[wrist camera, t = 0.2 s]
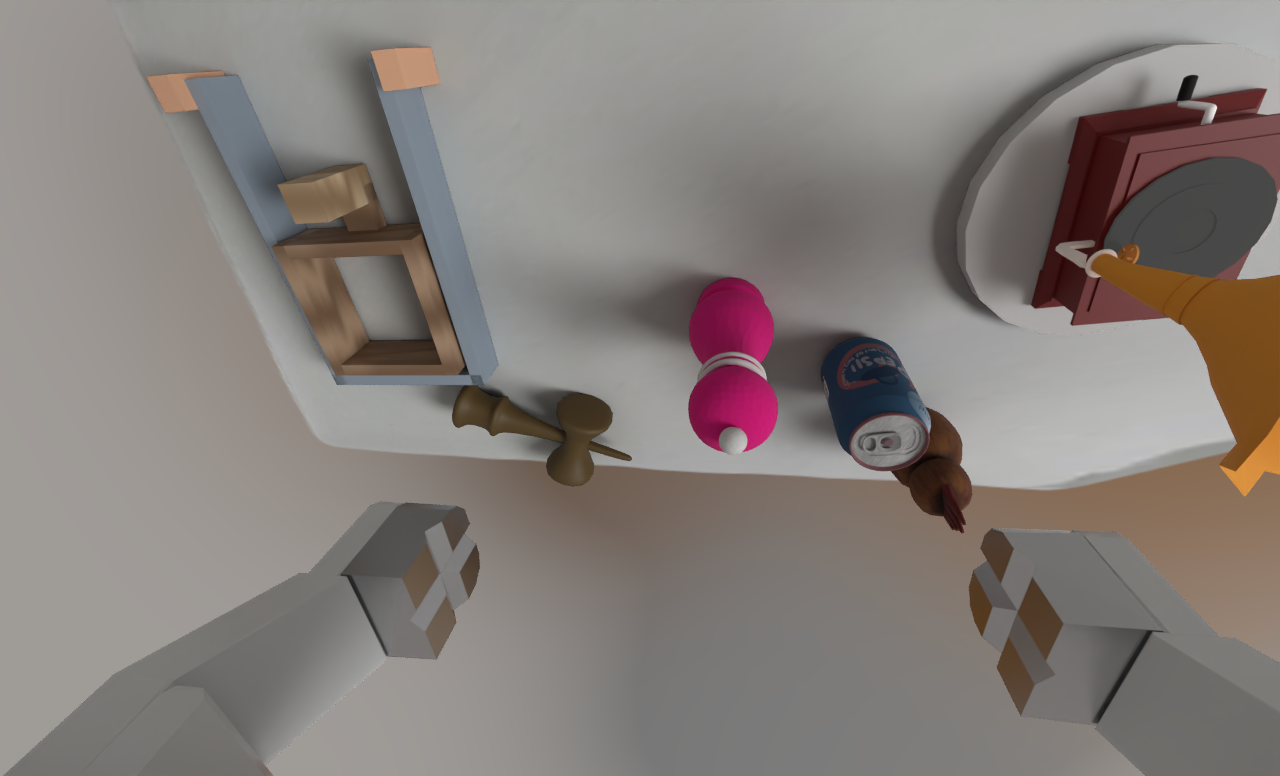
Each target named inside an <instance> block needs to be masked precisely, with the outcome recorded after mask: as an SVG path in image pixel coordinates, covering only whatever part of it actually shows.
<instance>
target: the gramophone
mask: <svg viewBox="0 0 1280 776" xmlns="http://www.w3.org/2000/svg"><path fill="white" fill-rule="evenodd" d="M1279 215H1280V61H1278V60H1275V59H1272V58H1270V57H1267V56H1265V55H1262V54H1260V53H1257V52H1255V51H1252V50H1249V49H1247V48H1244V47H1242V46H1239V45H1237V44H1219V43H1208V44H1167V45H1153V46H1150V47H1147V48H1144V49H1141V50H1137V51H1134V52H1131V53H1128V54H1125V55H1122V56H1119V57H1116V58H1113V59H1110V60H1107V61H1103V62H1100V63H1097V64H1095V65H1093V66H1092V67H1090V68H1088V69H1087V70H1085V71H1084V72H1082V73H1080V74H1079V75H1077V76H1075V77H1074V78H1072V79H1070V80H1069V81H1067V82H1065V83H1064V84H1062V85H1061V86H1059V87H1057V88H1056V89H1054V90H1052V91H1051V92H1049V93H1047V94H1046V95H1044V96H1042V97H1041V98H1040V99H1039V100H1038V101H1037V102H1036V103H1035V104H1034V105H1033V106H1032V107H1031V108H1030V109H1029V110H1028V111H1027V112H1026V113H1025V114H1023V115H1022V116H1021V117H1020V118H1019V119H1018V120H1017V121H1016V122H1015V123H1014V124H1013V125H1012V126H1011V127H1010V128H1009V129H1008V130H1007V131H1006V132H1005V133H1004V134H1003V135H1001V136H1000V137H999V139H998V140H997V142H996V143H995V145H994V146H993V148H992V149H991V151H990V152H989V154H988V155H987V157H986V158H985V160H984V161H983V163H982V165H981V166H980V168H979V169H978V171H977V172H976V174H975V175H974V177H973V178H972V180H971V181H970V184H969V187H968V190H967V193H966V196H965V199H964V202H963V205H962V208H961V212H960V215H959V218H958V221H957V261H958V264H959V266H960V268H961V270H962V272H963V275H964V277H965V279H966V281H967V283H968V286H969V288H970V290H971V291H972V292H973V293H974V294H975V296H976V297H977V298H978V299H979V300H980V301H982V302H983V303H984V304H985V305H986V306H987V307H989V308H990V309H991V310H992V311H993V312H994V313H996V314H997V315H998V316H999V317H1000V318H1001V319H1002V320H1004V321H1005V322H1008V323H1010V324H1013V325H1016V326H1019V327H1022V328H1025V329H1028V330H1031V331H1033V332H1036V333H1039V334H1062V335H1085V334H1090V333H1095V332H1100V331H1106V330H1111V329H1116V328H1121V327H1126V326H1129V325H1132V324H1134V323H1137V322H1139V321H1142V320H1147V319H1159V318H1171V319H1172V320H1174V321H1175V322H1177V323H1178V324H1179V325H1183V326H1184V327H1185V328H1186V329H1187V330H1188V332H1189V333H1190V334H1191V335H1192V337H1193V338H1194V339H1195V340H1196V342H1197V344H1198V347H1199V349H1200V351H1201V353H1202V356H1203V358H1204V360H1205V362H1206V364H1207V368H1208V373H1209V377H1210V382H1211V385H1212V388H1213V390H1214V392H1215V394H1216V397H1217V399H1218V401H1219V403H1220V406H1221V408H1222V410H1223V413H1224V415H1225V417H1226V419H1227V422H1228V424H1229V426H1230V428H1231V431H1232V433H1233V435H1234V437H1235V440H1236V442H1237V444H1236V445H1235V446H1234V447H1233V449H1232V450H1231V451H1230V452H1229V453H1228V454H1227V456H1226V457H1225V458H1224V459H1223V460H1222V462H1221V463H1220V464H1219V466H1220V467H1221V469H1222V470H1223V471H1224V472H1225V473H1226V475H1227V476H1228V477H1229V478H1230V479H1231V481H1232V482H1233V483H1234V484H1235V485H1236V487H1237V488H1238V489H1239V490H1240V491H1241V493H1242V494H1243V495H1244V496H1246V494H1247V493H1248V492H1249V491H1250V489H1251V488H1252V487H1253V485H1254V484H1255V483H1256V481H1257V480H1258V479H1259V478H1260V476H1261V475H1262V474H1263V473H1264V471H1268V472H1272V473H1276V474H1280V275H1276V276H1270V277H1264V278H1258V279H1241V280H1237V277H1238V275H1239V273H1240V271H1241V269H1242V267H1243V265H1244V263H1245V261H1246V259H1247V257H1248V255H1249V253H1250V250H1252V249H1253V248H1254V247H1255V246H1256V245H1257V244H1258V243H1259V242H1260V241H1261V240H1262V239H1263V238H1264V237H1265V236H1266V235H1267V233H1268V232H1269V230H1270V229H1271V227H1272V226H1273V224H1274V223H1275V221H1276V220H1277V218H1278V217H1279Z"/></svg>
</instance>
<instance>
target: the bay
mask: <svg viewBox="0 0 1280 776" xmlns="http://www.w3.org/2000/svg"><path fill="white" fill-rule="evenodd" d="M371 53H372V56H373V59H367V60H368V63H369V66H370V69H371V72H372V75H373V78H374V81H375V84H376V87H377V90H378V94H379V97H380V100H381V103H382V106H383V109H384V112H385V115H386V118H387V121H388V124H389V127H390V131H391V134H392V137H393V140H394V143H395V146H396V149H397V152H398V155H399V158H400V161H401V164H402V168H403V171H404V174H405V177H406V180H407V183H408V186H409V189H410V192H411V195H412V198H413V201H414V205H415V208H416V211H417V214H418V217H419V220H420V223H421V226H422V229H423V232H424V235H425V238H426V242H427V245H428V248H429V251H430V254H431V257H432V260H433V263H434V266H435V269H436V272H437V275H438V279H439V282H440V285H441V288H442V291H443V294H444V297H445V300H446V303H447V306H448V309H449V312H450V316H451V319H452V322H453V325H454V328H455V331H456V334H457V337H458V340H459V343H460V346H461V349H462V353H463V356H464V359H465V362H466V365H465V367H464V368H463V369H462V370H461V372H460V373H459V374H458V375H335V373H334V371H333V369H332V367H331V365H330V363H329V361H328V359H327V357H326V355H325V353H324V351H323V349H322V347H321V345H320V343H319V341H318V339H317V337H316V335H315V333H314V331H313V329H312V327H311V325H310V323H309V321H308V319H307V317H306V315H305V313H304V311H303V309H302V307H301V305H300V303H299V301H298V299H297V297H296V295H295V293H294V291H293V289H292V287H291V285H290V283H289V281H288V279H287V277H286V275H285V273H284V271H283V269H282V267H281V265H280V263H279V261H278V259H277V257H276V255H275V253H274V251H273V249H272V247H271V246H274V245H276V244H278V243H280V242H282V241H285V240H287V239H289V238H291V237H293V236H295V235H298V234H300V233H302V232H304V231H306V230H307V227H306V225H305V224H295V222H294V220H293V218H292V215H291V213H290V211H289V209H288V207H287V205H286V202H285V200H284V198H283V196H282V194H281V192H280V189H279V187H278V184H281V183H284V182H286V181H285V178H284V176H283V174H282V172H281V170H280V167H279V165H278V163H277V161H276V158H275V156H274V154H273V152H272V150H271V147H270V145H269V143H268V141H267V138H266V136H265V134H264V132H263V130H262V127H261V125H260V123H259V121H258V118H257V116H256V114H255V112H254V110H253V107H252V105H251V103H250V101H249V98H248V96H247V94H246V92H245V90H244V87H243V85H242V83H241V81H240V78H239V76H238V75H234V76H225V74H224V72H223V71H214V72H198V73H183V74H167V75H158V76H149V77H147V79H148V81H149V83H150V85H151V87H152V89H153V91H154V92H155V94H156V96H157V98H158V100H159V102H160V104H161V105H162V107H163V109H164V111H165V113H172V112H182V111H190V110H198V109H199V111H200V113H201V115H202V117H203V119H204V121H205V123H206V125H207V127H208V129H209V131H210V133H211V135H212V137H213V139H214V141H215V143H216V145H217V147H218V149H219V151H220V153H221V155H222V157H223V159H224V161H225V163H226V165H227V167H228V169H229V171H230V173H231V175H232V177H233V179H234V181H235V183H236V185H237V187H238V189H239V191H240V193H241V195H242V197H243V199H244V201H245V203H246V205H247V207H248V209H249V211H250V213H251V215H252V217H253V219H254V221H255V223H256V225H257V227H258V229H259V231H260V233H261V235H262V237H263V239H264V241H265V243H266V245H267V247H268V249H269V251H270V253H271V255H272V257H273V259H274V261H275V263H276V265H277V267H278V269H279V271H280V273H281V275H282V277H283V279H284V281H285V282H286V284H287V286H288V288H289V290H290V292H291V294H292V296H293V298H294V300H295V302H296V304H297V306H298V308H299V310H300V312H301V314H302V316H303V318H304V320H305V322H306V324H307V326H308V328H309V330H310V332H311V334H312V336H313V338H314V340H315V342H316V344H317V346H318V348H319V350H320V352H321V354H322V356H323V358H324V360H325V362H326V364H327V366H328V368H329V370H330V372H331V374H332V376H333V378H334V380H335V382H336V384H337V385H485V383H486V382H487V380H488V379H489V377H490V376H491V374H492V373H493V372H494V370H495V369H496V367H497V366H498V361H497V358H496V354H495V351H494V347H493V344H492V340H491V337H490V333H489V330H488V326H487V322H486V319H485V315H484V312H483V308H482V305H481V301H480V298H479V294H478V291H477V287H476V284H475V280H474V277H473V273H472V270H471V266H470V262H469V259H468V255H467V252H466V248H465V245H464V241H463V238H462V234H461V231H460V227H459V224H458V220H457V217H456V213H455V210H454V206H453V202H452V199H451V195H450V192H449V188H448V185H447V181H446V178H445V174H444V171H443V167H442V164H441V160H440V157H439V153H438V149H437V146H436V142H435V139H434V135H433V132H432V128H431V125H430V121H429V118H428V114H427V111H426V107H425V104H424V100H423V97H422V93H421V89H420V87H423V86H429V85H436V84H440V81H439V77H438V73H437V69H436V65H435V62H434V58H433V54H432V50H431V47H426V48H394V49H385V50H376V51H371Z"/></svg>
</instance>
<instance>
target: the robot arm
mask: <svg viewBox="0 0 1280 776" xmlns="http://www.w3.org/2000/svg"><path fill="white" fill-rule="evenodd" d="M469 525H470V522H469V520H468V517H467V514H466V511H465V509H463V508H461V507H458V506H449V505H433V504H418V503H395V502H394V503H393V502H381V501H380V502H377V503H375V504H373V505H370V506H369V507H368V508H367V510H366V511H365V512H364V513H363V514H362V515H361V516H360V517H359V518H358V519H357V520H356V522H355V523H354V524H353V525H352V526H351V527H350V528H349V529H348V530H347V532H345V534H344V535H343V536H342V537H341V538H340V539H339V540H338V541H337V542H336V543H335V544H334V546H333V547H332V548H331V549H330V550H329V551H328V552H327V553H326V554H325V555H324V557H323V558H322V559H321V560H320V561H319V562H318V563H317V564H316V565H315V566H314V567H313V569H312V570H311V571H310V572H309V573H299V574H297V575H295V576H293V577H291V578H289V579H288V580H286V581H284V582H282V583H280V584H278V585H277V586H275V587H273V588H271V589H269V590H267V591H266V592H264V593H262V594H260V595H258V596H256V597H255V598H253V599H251V600H249V601H248V602H245V603H244V604H242V605H240V606H238V607H236V608H234V609H233V610H231V611H229V612H227V613H225V614H223V615H222V616H220V617H218V618H216V619H214V620H212V621H211V622H209V623H207V624H205V625H203V626H201V627H200V628H198V629H196V630H194V631H192V632H190V633H189V634H187V635H185V636H183V637H181V638H179V639H178V640H176V641H174V642H172V643H170V644H168V645H167V646H165V647H163V648H161V649H159V650H157V651H156V652H154V653H152V654H150V655H148V656H146V657H145V658H143V659H141V660H139V661H137V662H135V663H134V664H132V665H130V666H128V667H126V668H125V669H123V670H121V671H119V672H117V673H115V674H114V675H112V676H111V677H110V678H109V679H108V680H107V681H106V682H105V683H104V684H103V685H102V686H101V687H99V688H98V689H97V690H96V691H95V692H94V693H93V694H92V695H91V696H90V697H88V698H87V699H86V700H85V701H84V702H83V703H82V704H81V705H80V706H79V707H78V708H77V709H76V710H74V711H73V712H72V713H71V714H70V715H69V716H68V717H67V718H66V719H64V721H62V722H61V723H60V724H59V725H58V726H57V727H56V728H55V729H54V730H53V731H51V732H50V733H49V734H48V735H47V736H46V737H45V738H44V739H43V740H42V741H40V742H39V743H38V744H37V745H36V746H35V747H34V748H33V749H32V750H31V751H30V752H29V753H27V754H26V755H25V756H24V757H23V758H22V759H21V760H20V761H19V762H18V763H17V764H15V766H13V767H12V768H11V769H10V770H9V771H8V772H7V773H6V774H4V775H3V776H273V775H272V773H271V772H270V771H269V770H268V768H267V767H266V766H265V765H267V764H268V763H269V762H270V761H271V760H272V759H273V758H274V757H276V756H277V755H278V754H279V753H280V752H281V751H283V750H284V749H285V748H286V747H287V746H288V745H290V744H291V743H292V742H293V741H294V740H295V739H296V738H298V737H299V736H300V735H301V734H302V733H303V732H304V731H306V730H307V729H308V728H309V727H310V726H311V725H312V724H314V723H315V722H316V721H317V720H318V719H319V718H321V717H322V716H323V715H324V714H325V713H326V712H327V711H328V710H330V709H331V708H332V707H333V706H334V705H336V704H337V703H338V702H339V701H340V700H341V699H342V698H344V696H346V695H347V694H348V693H349V692H351V691H352V690H353V689H354V688H355V687H356V686H357V685H359V684H360V683H361V682H362V681H363V680H364V679H365V678H367V677H368V676H369V675H370V674H371V673H372V672H374V671H375V670H376V669H377V668H378V667H379V666H380V665H382V664H383V663H384V662H385V661H386V660H387V657H386V656H391V657H405V658H421V659H437V658H438V656H439V654H440V652H441V650H442V648H443V646H444V644H445V642H446V641H447V639H448V637H449V635H450V633H451V632H452V630H453V628H454V626H455V624H456V618H455V613H454V610H455V609H456V608H457V607H458V606H460V605H461V604H463V603H464V602H465V601H467V600H468V599H469V597H470V595H471V593H472V591H473V589H474V587H475V585H476V582H477V578H478V573H479V569H480V559H479V551H478V548H477V545H476V543H475V542H474V541H473V540H472V539H471V538H470V537H469V536H467V535H466V534H465V532H466V530H467V528H468V526H469ZM980 549H981V550H982V552H983V554H984V555H985V557H986V559H987V561H986V562H985V563H983V564H982V565H980V566H979V567H977V568H976V569H975V570H973V574H972V577H971V581H970V585H969V596H970V608H971V611H972V614H973V618H974V621H975V624H976V626H977V628H978V630H979V632H980V634H981V636H982V638H983V639H984V640H986V641H987V642H988V643H989V644H991V645H992V646H993V647H995V648H996V649H997V650H998V651H999V652H1001V656H1000V659H999V662H998V665H997V669H998V671H999V673H1000V675H1001V677H1002V679H1003V681H1004V684H1005V686H1006V688H1007V690H1008V692H1009V694H1010V696H1011V698H1012V700H1013V702H1014V704H1015V706H1016V708H1017V710H1018V712H1019V714H1020V716H1023V717H1031V718H1039V719H1047V720H1055V721H1063V722H1072V723H1079V724H1088V725H1096V728H1095V729H1096V730H1097V731H1098V732H1099V733H1100V734H1101V735H1102V736H1103V737H1104V738H1105V739H1106V740H1108V741H1109V742H1110V743H1111V744H1112V745H1113V746H1114V747H1115V748H1116V749H1117V750H1118V751H1119V752H1121V753H1122V754H1123V755H1124V756H1125V757H1126V758H1127V759H1128V760H1129V761H1130V762H1131V763H1132V764H1133V765H1135V766H1136V767H1137V768H1138V769H1139V770H1140V771H1141V772H1142V773H1143V774H1144V775H1145V776H1280V663H1279V662H1278V661H1276V660H1274V659H1272V658H1270V657H1269V656H1267V655H1265V654H1263V653H1261V652H1260V651H1258V650H1256V649H1254V648H1253V647H1251V646H1249V645H1247V644H1245V643H1244V642H1242V641H1240V640H1238V639H1236V638H1229V637H1220V636H1219V635H1218V634H1217V633H1216V632H1215V631H1214V630H1213V629H1212V628H1211V627H1210V626H1209V625H1208V624H1207V623H1206V621H1205V620H1204V619H1203V618H1202V617H1201V616H1200V615H1199V614H1198V613H1197V612H1196V611H1195V610H1194V609H1193V608H1192V607H1191V606H1190V604H1189V603H1188V602H1187V601H1186V600H1185V599H1184V598H1183V597H1182V596H1181V595H1180V594H1179V593H1178V592H1177V591H1176V590H1175V589H1174V588H1173V587H1172V585H1171V584H1170V583H1169V582H1168V581H1167V580H1166V579H1165V578H1164V577H1163V576H1162V575H1161V574H1160V573H1159V572H1158V571H1157V570H1156V569H1155V568H1154V566H1152V564H1151V563H1150V562H1149V561H1148V560H1147V559H1146V558H1145V557H1144V556H1143V555H1142V554H1141V553H1140V552H1139V551H1138V550H1137V548H1135V546H1134V545H1133V544H1132V543H1131V542H1130V541H1129V540H1128V539H1127V538H1125V537H1123V536H1122V535H1120V534H1118V533H1116V532H1110V531H1073V530H1072V531H1059V530H1031V529H1001V528H1000V529H999V528H991V529H990V530H989V531H988V532H987V533H986V534H985V536H984V539H983V542H982V545H981V548H980Z"/></svg>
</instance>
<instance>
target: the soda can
mask: <svg viewBox="0 0 1280 776" xmlns="http://www.w3.org/2000/svg"><path fill="white" fill-rule="evenodd" d="M821 380H822V384H823V387H824V391H825V394H826V398H827V401H828V405H829V408H830V412H831V415H832V419H833V422H834V426H835V429H836V433H837V436H838V440H839V442H840V444H841V446H842V447H843V449H844V450H845V451H846V452H847V453H848V454H850V455H851V456H852V457H853V458H854V460H855V461H856V462H857V463H859V464H860V465H862V466H863V467H865V468H868V469H871V470H876V471H893V470H898V469H901V468H904V467H907V466H909V465H911V464H913V463H914V462H916V461H917V460H918V459H919V458H921V457H922V455H923V454H924V453H925V452H926V450H927V448H928V445H929V441H930V437H929V432H930V428H931V420H930V416H929V413H928V411H927V409H926V408H925V406H924V404H923V402H922V400H921V398H920V396H919V395H918V393H917V391H916V389H915V387H914V385H913V383H912V382H911V380H910V378H909V376H908V374H907V372H906V370H905V369H904V367H903V365H902V363H901V361H900V359H899V358H898V356H897V354H896V352H895V351H894V350H893V348H892V347H890V346H889V345H888V344H886V343H885V342H883V341H880V340H877V339H873V338H854V339H850V340H847V341H845V342H843V343H841V344H839V345H838V346H836V347H835V348H834V349H833V350H832V351H831V352H830V353H829V354H828V355H827V357H826V358H825V360H824V362H823V364H822V367H821Z"/></svg>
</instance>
